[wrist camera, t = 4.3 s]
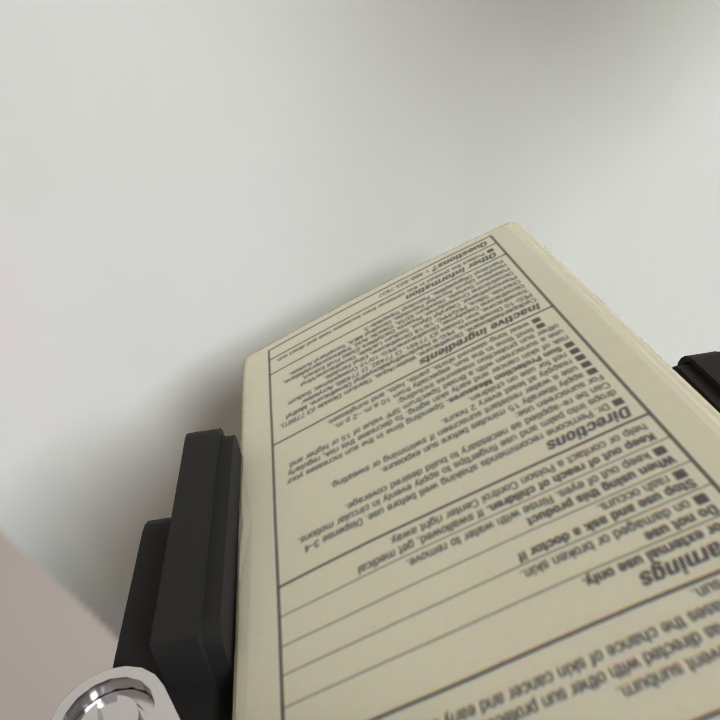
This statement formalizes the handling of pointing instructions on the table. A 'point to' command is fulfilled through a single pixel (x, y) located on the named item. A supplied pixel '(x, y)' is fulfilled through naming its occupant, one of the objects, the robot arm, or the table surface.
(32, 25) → the table surface
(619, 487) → the skincare box
